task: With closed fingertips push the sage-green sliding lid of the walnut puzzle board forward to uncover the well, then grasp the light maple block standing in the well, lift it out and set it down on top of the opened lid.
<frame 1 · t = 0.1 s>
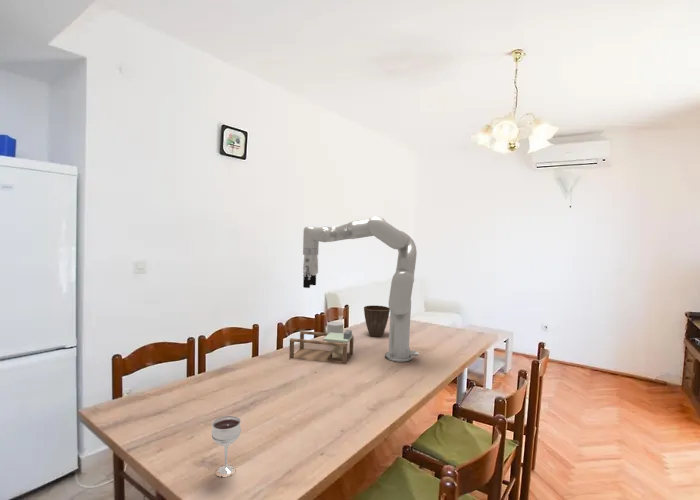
hand: (309, 286, 187), 31 cm above the table, tool pointing down, fingers open, 9 cm apart
cup: (334, 347, 193), on the table
lid: (338, 334, 172), point 12 cm above the table, slide at 0.0 cm
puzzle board: (321, 358, 174), on the table
plant pot: (375, 335, 217), on the table
maple block: (338, 357, 172), point 1 cm above the table, touching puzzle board
wineglass: (225, 471, 92), on the table
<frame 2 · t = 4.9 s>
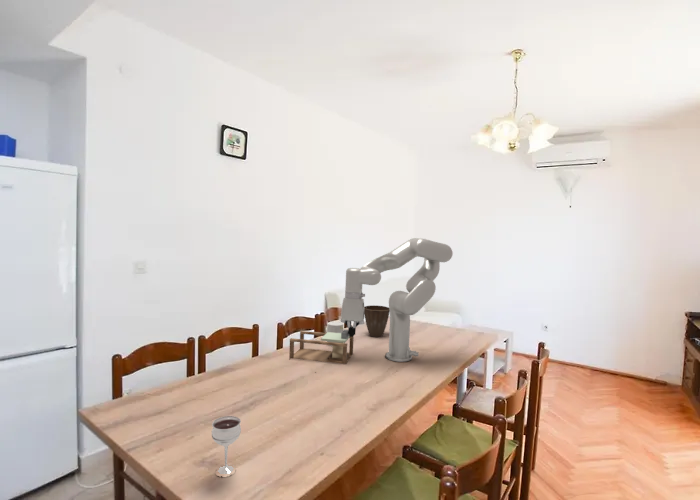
hand: (351, 336, 171), 12 cm above the table, tool pointing down, fingers closed
lid: (336, 334, 172), point 12 cm above the table, slide at 1.1 cm, touching gripper
everything else where it was.
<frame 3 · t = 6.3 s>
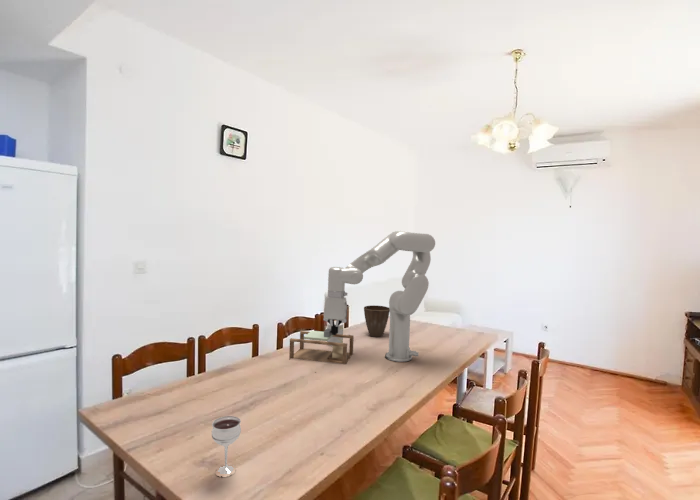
hand: (334, 334, 172), 12 cm above the table, tool pointing down, fingers closed
lid: (319, 333, 174), point 12 cm above the table, slide at 9.2 cm, touching gripper
everything else where it was.
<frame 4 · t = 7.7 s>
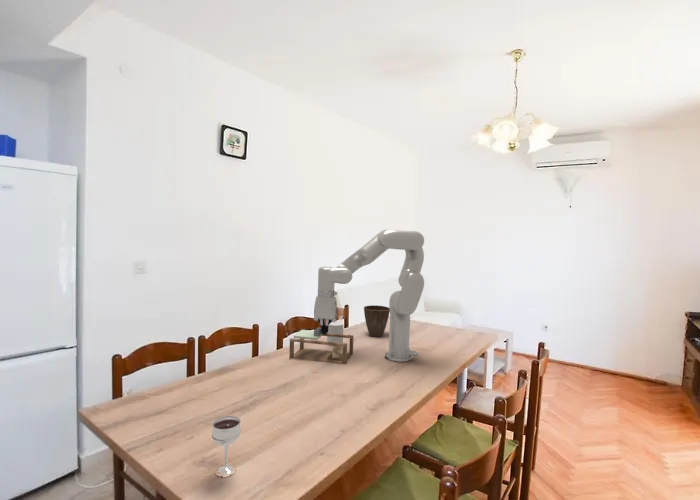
hand: (324, 333, 173), 12 cm above the table, tool pointing down, fingers closed
lid: (309, 332, 175), point 12 cm above the table, slide at 13.9 cm
everything else where it was.
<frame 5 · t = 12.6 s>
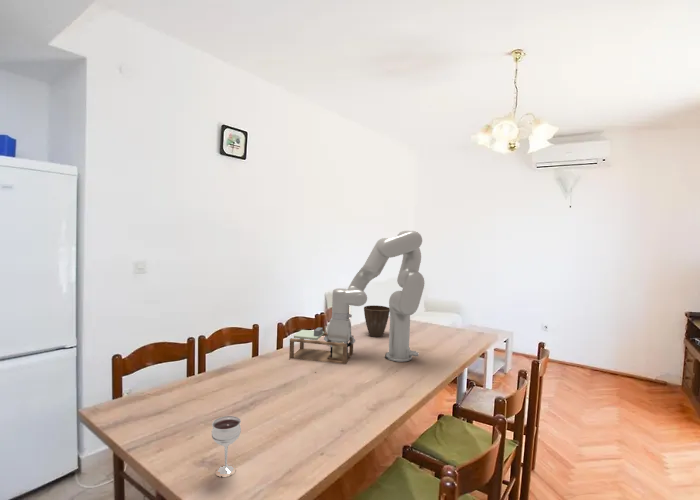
hand: (338, 355, 172), 2 cm above the table, tool pointing down, fingers closed on maple block, 5 cm apart
maple block: (338, 357, 172), point 1 cm above the table, touching gripper, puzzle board
everything else where it was.
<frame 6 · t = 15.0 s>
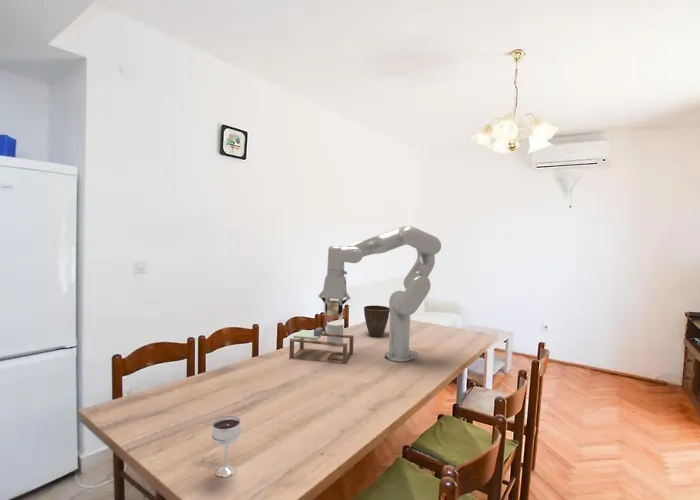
hand: (333, 312, 172), 22 cm above the table, tool pointing down, fingers closed on maple block, 5 cm apart
maple block: (333, 314, 172), point 21 cm above the table, touching gripper
everything else where it was.
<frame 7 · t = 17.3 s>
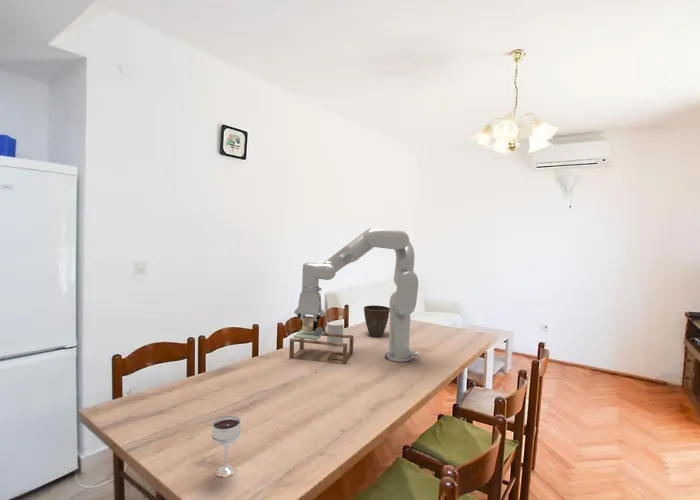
hand: (309, 328, 175), 14 cm above the table, tool pointing down, fingers closed on maple block, 4 cm apart
lid: (309, 332, 175), point 12 cm above the table, slide at 13.9 cm, touching gripper
maple block: (308, 330, 175), point 13 cm above the table, touching gripper
everything else where it was.
when the fingers open (14 cm above the table, at t = 17.6 s): maple block drops 1 cm, resting on lid.
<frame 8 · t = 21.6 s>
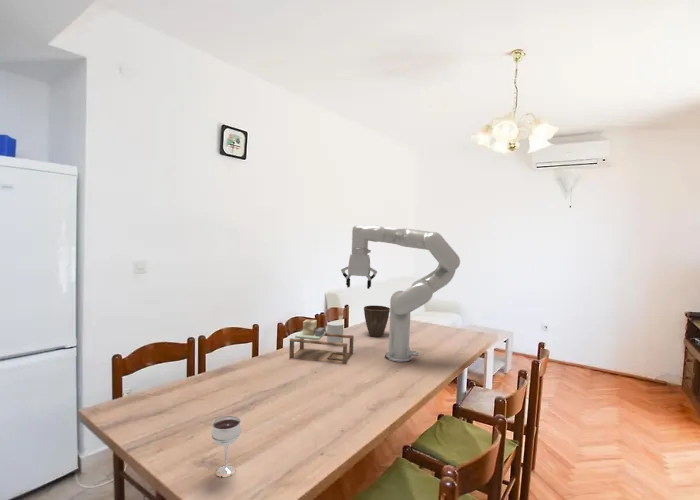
hand: (358, 287, 180), 32 cm above the table, tool pointing down, fingers open, 9 cm apart
lid: (310, 332, 175), point 12 cm above the table, slide at 13.1 cm, touching maple block
maple block: (309, 333, 175), point 11 cm above the table, touching lid
everything else where it was.
at the end: lid slide at 13.1 cm; maple block inside the target area (0.8 cm from its centre), point 11.1 cm above the table; maple block tilted 0° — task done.
